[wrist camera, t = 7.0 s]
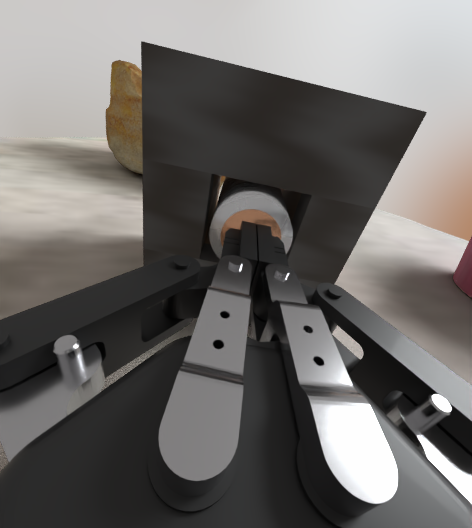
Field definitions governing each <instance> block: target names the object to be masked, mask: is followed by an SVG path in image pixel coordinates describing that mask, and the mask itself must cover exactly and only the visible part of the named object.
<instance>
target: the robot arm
mask: <svg viewBox="0 0 472 528" xmlns="http://www.w3.org/2000/svg"><path fill="white" fill-rule="evenodd" d="M161 301H162V302H161ZM159 302H160V303H159ZM157 303H158V304H157ZM250 303H253V309H252V312H251V315H250V319H251V329H252V339H251V338H249V337H247V331H248V322H249V313H250ZM155 304H156V305H155ZM153 305H154V306H153ZM151 306H152V307H151ZM149 307H150V308H149ZM193 318H198V320H197V323H196V326H195V329H194V332H193V335H192V336H187V337H183V338H180V339H178V340H175V341H173V342H172V343H170V344H168V345H166V346H165V347H163V348H162V349H161V350H159V351H158V352H156V353H155V354H154V355H152V356H151V357H149V358H148V359H147V360H145V361H144V362H142V363H141V364H139V365H138V366H137V367H135V368H134V369H132V370H131V371H130V372H128V373H127V374H125V375H124V376H123V377H121V378H120V379H118V380H117V381H115V382H114V383H113V384H111V385H110V386H108V387H107V388H106V389H104V390H103V391H101V390H102V388H103V386H104V382H105V378H106V377H107V376H109V375H110V374H112V373H113V372H115V371H117V370H118V369H120V368H121V367H123V366H124V365H126V364H127V363H129V362H131V361H132V360H134V359H135V358H137V357H138V356H140V355H142V354H143V353H145V352H146V351H148V350H149V349H151V348H153V347H154V346H156V345H157V344H159V343H160V342H162V341H163V340H165V339H167V338H168V337H170V336H171V335H173V334H174V333H176V332H178V331H179V330H181V329H182V328H184V327H185V326H187V325H188V324H190V323H191V321H192V320H193ZM337 325H338V326H339V327H340V328H341V329H343V330H344V331H345V332H346V333H347V334H348V335H349V336H351V337H352V338H353V339H354V340H355V341H356V342H357V343H359V344H360V346H361V347H362V349H363V352H364V355H363V358H362V359H361V360H360V359H359V358H357V357H356V356H355V355H354V354H353V353H352V352H351V351H349V350H348V349H347V348H346V347H345V346H344V345H343V344H342V343H341V342H340V341H338V340H337V339H336V338H335V337H334V336H333V335H332V333H333V331H334V330H335V328H336V326H337ZM0 442H1V444H2V447H3V449H4V452H5V454H6V457H7V459H8V462H9V463H8V464H7V465H6V466H5V467H4V469H3V470H2V471H1V472H0V528H472V385H471V384H469V383H468V382H467V381H465V380H464V379H463V378H461V377H460V376H459V375H457V374H456V373H455V372H453V371H452V370H451V369H449V368H448V367H447V366H445V365H444V364H443V363H441V362H440V361H439V360H437V359H436V358H435V357H433V356H432V355H431V354H429V353H428V352H427V351H425V350H424V349H423V348H421V347H420V346H419V345H417V344H416V343H414V342H413V341H412V340H410V339H409V338H408V337H406V336H405V335H404V334H402V333H401V332H400V331H398V330H397V329H396V328H394V327H393V326H392V325H390V324H389V323H388V322H386V321H385V320H384V319H382V318H381V317H380V316H378V315H377V314H376V313H374V312H373V311H372V310H370V309H369V308H368V307H366V306H365V305H364V304H362V303H361V302H360V301H358V300H357V299H356V298H354V297H353V296H352V295H350V294H349V293H348V292H346V291H345V290H344V289H342V288H341V287H339V286H337V285H334V284H331V283H320V284H319V285H318V286H317V288H316V289H313V288H311V287H308V286H306V285H304V284H302V283H300V281H299V278H298V276H297V274H296V272H295V271H294V270H293V269H291V268H290V267H289V265H288V261H287V256H286V252H285V247H284V243H283V242H282V241H281V240H280V238H279V237H274V236H272V231H271V226H266V225H261V224H256V223H251V222H247V221H242V222H241V226H240V230H239V229H234V228H230V229H228V230H227V231H226V233H225V238H224V243H223V248H222V253H221V259H220V260H219V262H218V263H217V264H215V265H212V266H206V267H200V263H199V262H198V261H197V260H196V259H194V258H193V257H190V256H186V255H174V256H170V257H168V258H165V259H162V260H160V261H157V262H154V263H152V264H149V265H146V266H144V267H141V268H138V269H136V270H133V271H130V272H128V273H125V274H122V275H120V276H117V277H114V278H111V279H109V280H106V281H103V282H101V283H98V284H95V285H93V286H90V287H87V288H85V289H82V290H79V291H77V292H74V293H71V294H69V295H66V296H63V297H61V298H58V299H55V300H53V301H50V302H47V303H44V304H42V305H39V306H36V307H34V308H31V309H28V310H26V311H23V312H20V313H18V314H15V315H12V316H10V317H7V318H4V319H2V320H0Z"/></svg>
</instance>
